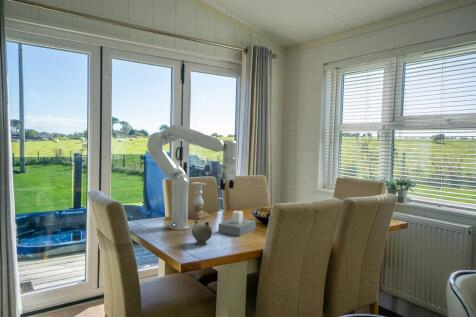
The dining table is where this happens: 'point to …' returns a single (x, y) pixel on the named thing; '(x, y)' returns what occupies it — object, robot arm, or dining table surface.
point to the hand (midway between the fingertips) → (226, 189)
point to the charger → (237, 217)
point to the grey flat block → (237, 227)
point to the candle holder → (198, 203)
